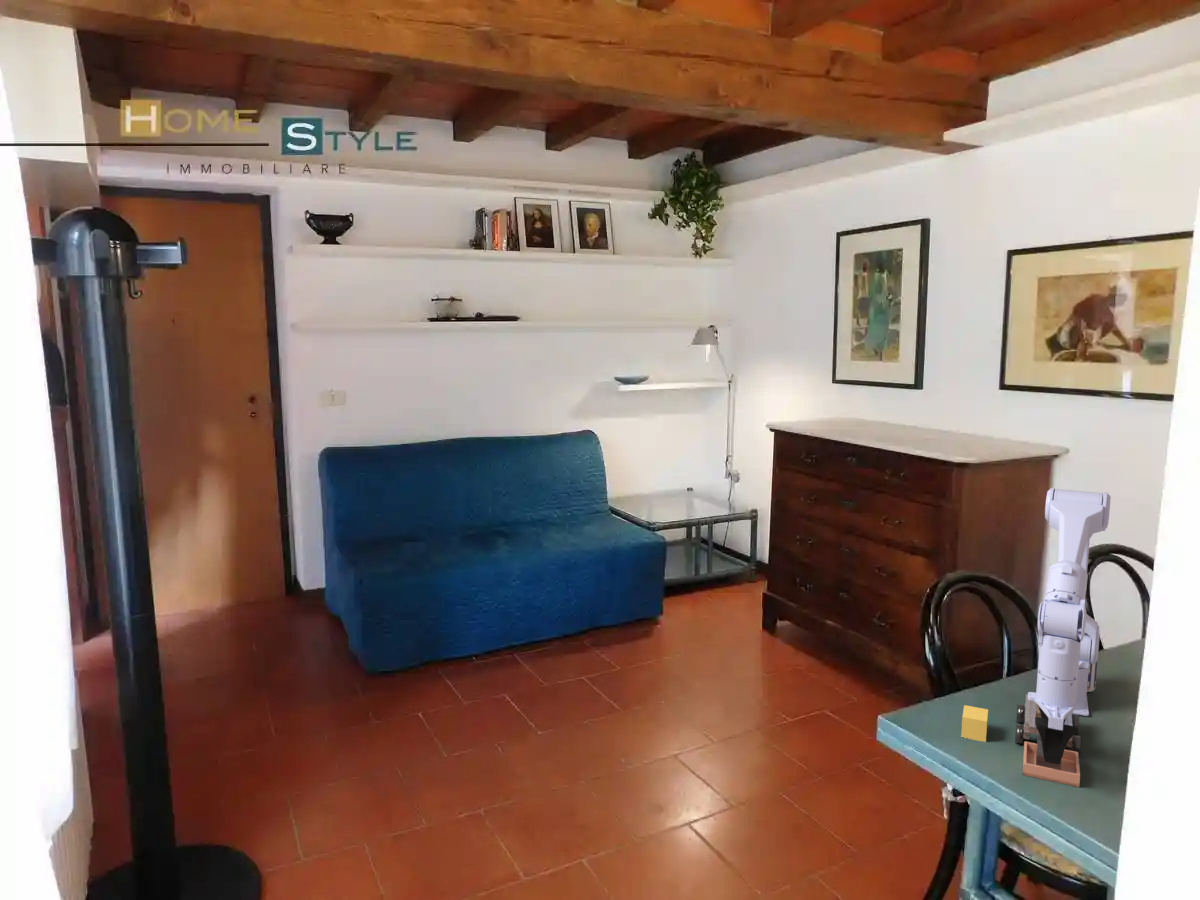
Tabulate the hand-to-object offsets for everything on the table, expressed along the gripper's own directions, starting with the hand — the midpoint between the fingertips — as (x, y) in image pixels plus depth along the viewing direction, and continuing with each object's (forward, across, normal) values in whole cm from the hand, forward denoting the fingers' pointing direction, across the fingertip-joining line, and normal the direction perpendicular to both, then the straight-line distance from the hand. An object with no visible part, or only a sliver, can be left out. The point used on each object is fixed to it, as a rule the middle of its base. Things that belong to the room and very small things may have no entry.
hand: (1051, 751), depth 134 cm
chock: (+3, -7, -12) cm, 14 cm away
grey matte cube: (+3, 0, 0) cm, 3 cm away
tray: (+3, 0, 0) cm, 3 cm away
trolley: (+3, -12, 0) cm, 12 cm away
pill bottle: (+3, -37, +6) cm, 38 cm away
